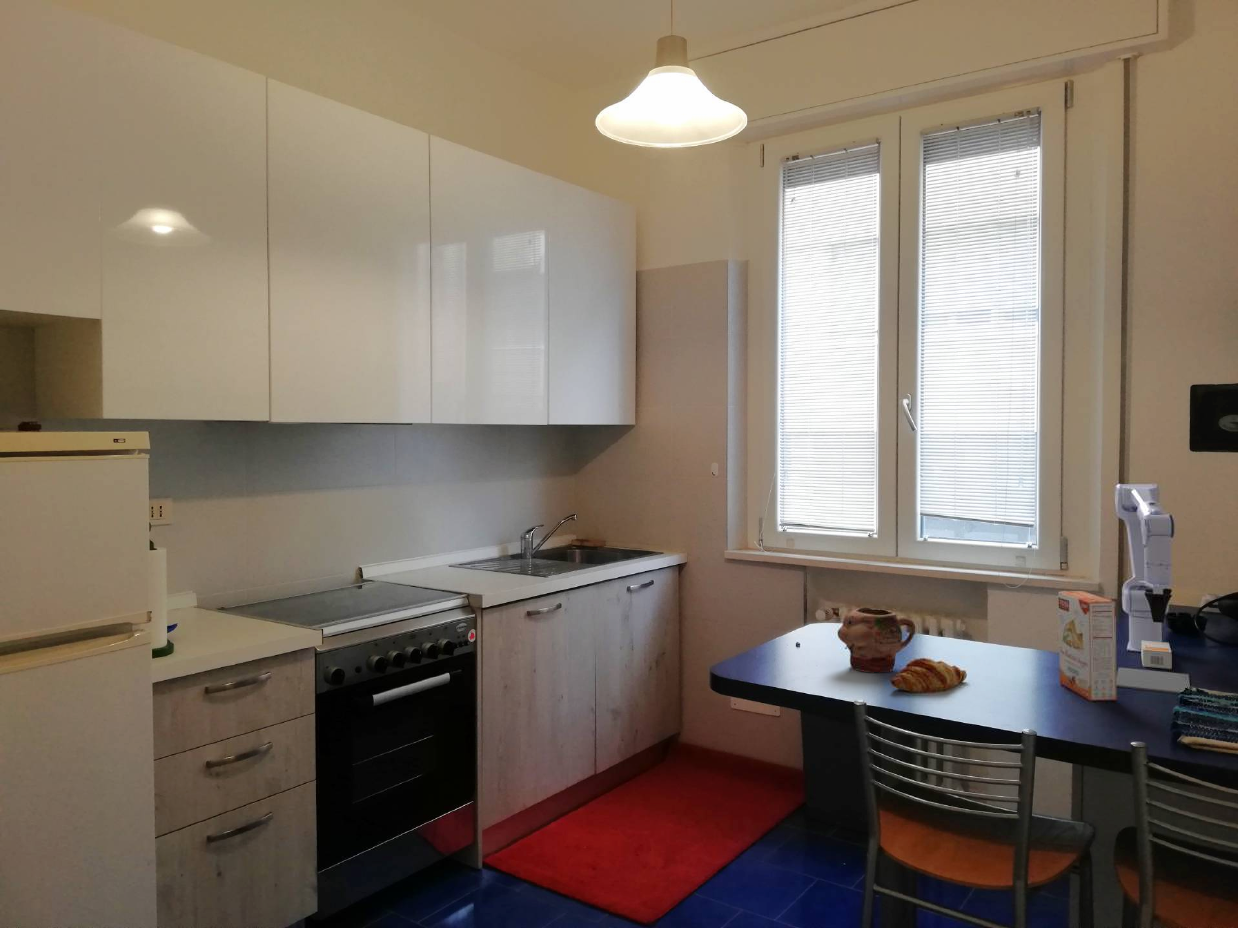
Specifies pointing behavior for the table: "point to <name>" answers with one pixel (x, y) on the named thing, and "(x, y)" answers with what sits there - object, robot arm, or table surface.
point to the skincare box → (1156, 654)
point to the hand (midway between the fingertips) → (1158, 620)
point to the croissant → (928, 676)
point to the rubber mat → (1152, 680)
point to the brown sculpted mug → (874, 638)
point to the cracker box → (1087, 645)
